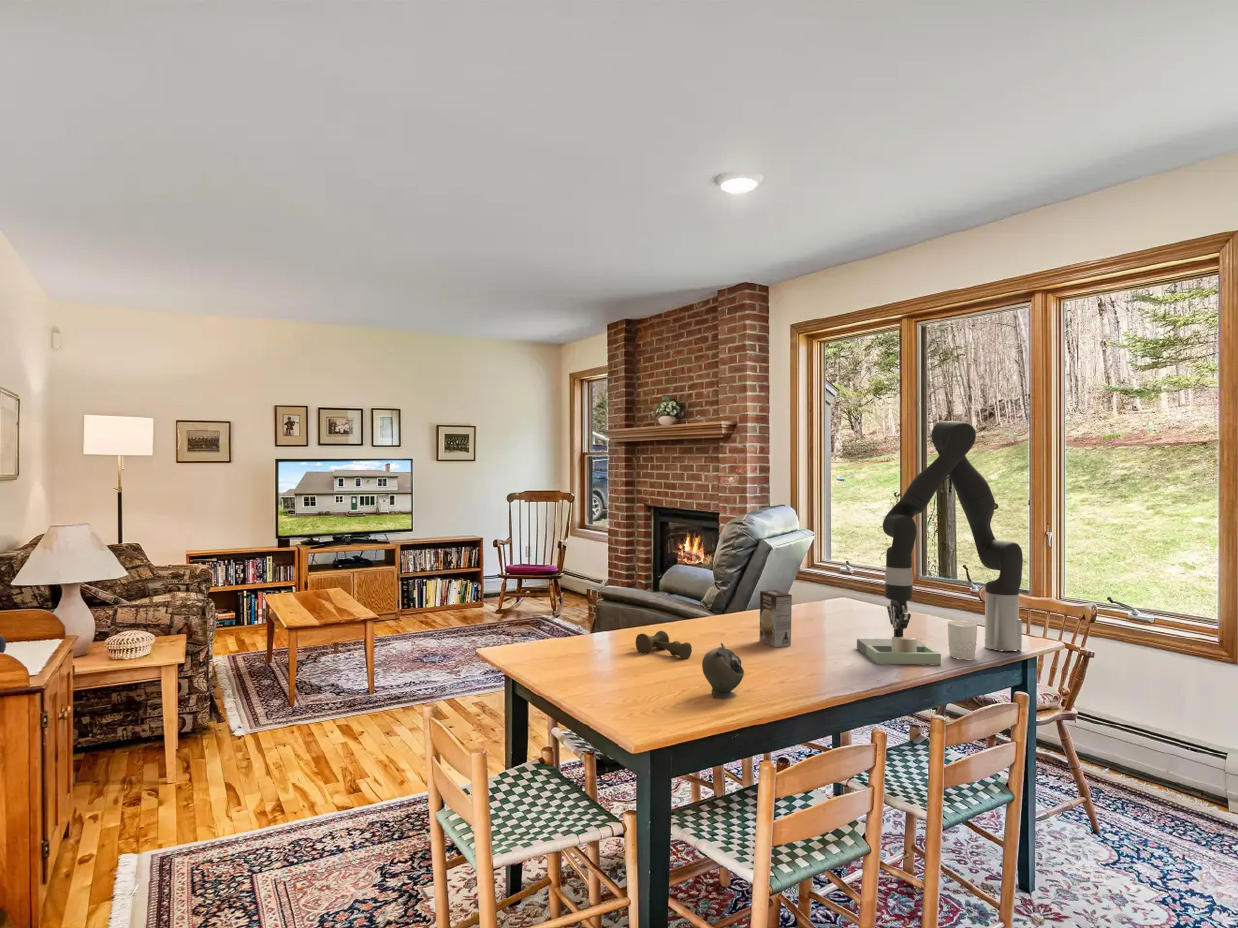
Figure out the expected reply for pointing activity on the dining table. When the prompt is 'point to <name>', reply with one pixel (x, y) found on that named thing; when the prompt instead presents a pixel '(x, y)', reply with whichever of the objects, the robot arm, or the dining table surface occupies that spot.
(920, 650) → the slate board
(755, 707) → the dining table surface
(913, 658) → the box
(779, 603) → the coffee box
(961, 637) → the white cup
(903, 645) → the pale wooden block
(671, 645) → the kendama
